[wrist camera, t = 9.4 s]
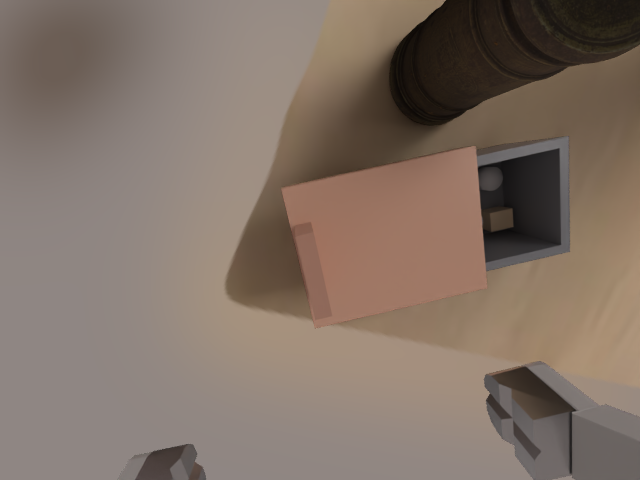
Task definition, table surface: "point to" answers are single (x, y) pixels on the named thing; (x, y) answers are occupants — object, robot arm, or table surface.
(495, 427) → the robot arm
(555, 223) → the tub
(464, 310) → the table surface
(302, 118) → the table surface
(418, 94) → the container
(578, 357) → the table surface
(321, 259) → the lid
